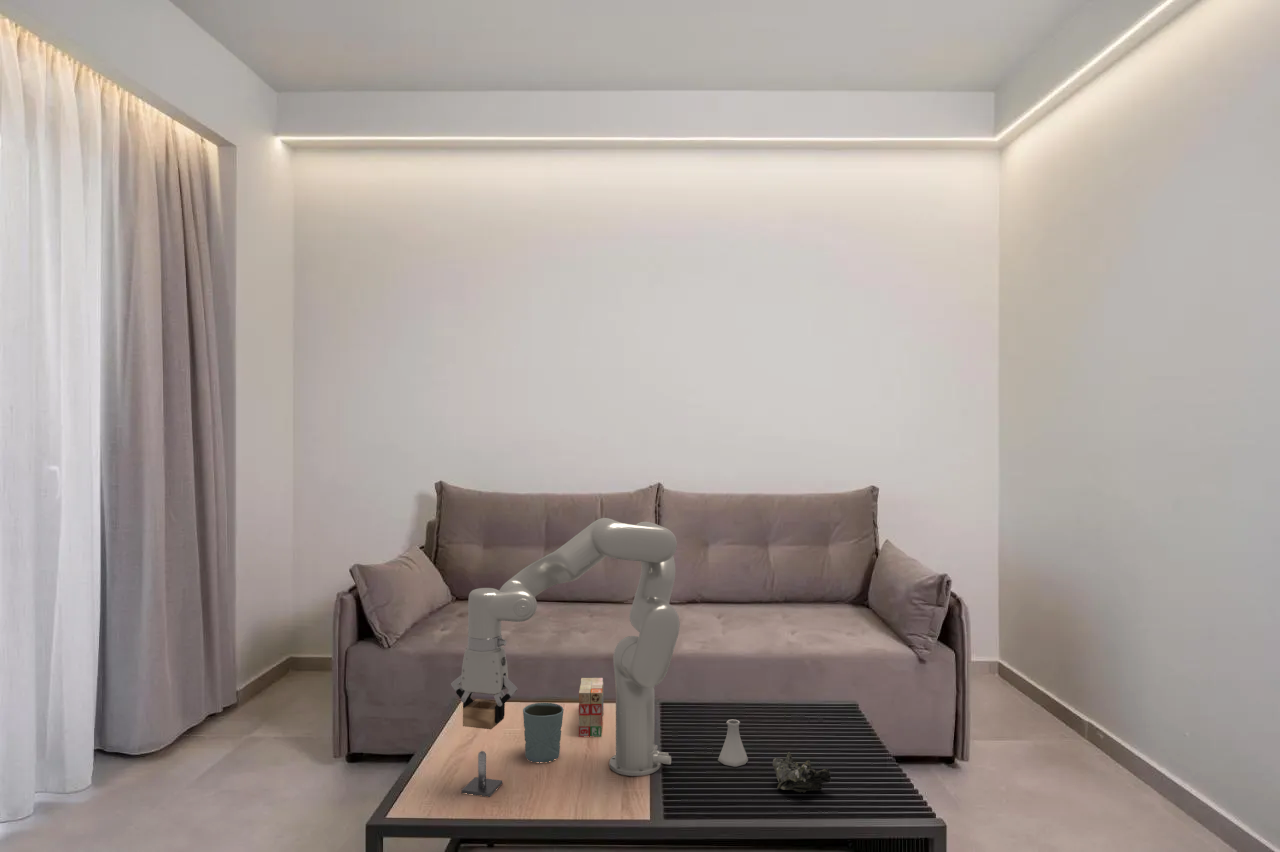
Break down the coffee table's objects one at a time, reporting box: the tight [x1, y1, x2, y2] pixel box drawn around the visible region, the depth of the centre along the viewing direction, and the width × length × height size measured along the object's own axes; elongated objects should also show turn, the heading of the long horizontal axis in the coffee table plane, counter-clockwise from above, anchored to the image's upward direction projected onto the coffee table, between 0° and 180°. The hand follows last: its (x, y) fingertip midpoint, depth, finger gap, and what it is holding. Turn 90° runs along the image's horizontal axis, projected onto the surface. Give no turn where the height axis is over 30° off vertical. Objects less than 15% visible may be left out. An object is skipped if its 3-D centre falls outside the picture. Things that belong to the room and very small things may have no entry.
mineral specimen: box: [772, 751, 832, 794], centre depth 195 cm, size 15×13×10 cm
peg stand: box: [461, 750, 503, 798], centre depth 194 cm, size 7×7×9 cm
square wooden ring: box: [462, 698, 505, 730], centre depth 194 cm, size 7×7×4 cm
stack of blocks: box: [578, 677, 604, 738], centre depth 236 cm, size 21×6×12 cm, turn 1°
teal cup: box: [522, 702, 565, 764], centre depth 213 cm, size 10×10×12 cm
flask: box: [717, 719, 749, 768], centre depth 210 cm, size 7×7×10 cm
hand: (483, 719), depth 194 cm, fingers closed on square wooden ring, 7 cm apart
